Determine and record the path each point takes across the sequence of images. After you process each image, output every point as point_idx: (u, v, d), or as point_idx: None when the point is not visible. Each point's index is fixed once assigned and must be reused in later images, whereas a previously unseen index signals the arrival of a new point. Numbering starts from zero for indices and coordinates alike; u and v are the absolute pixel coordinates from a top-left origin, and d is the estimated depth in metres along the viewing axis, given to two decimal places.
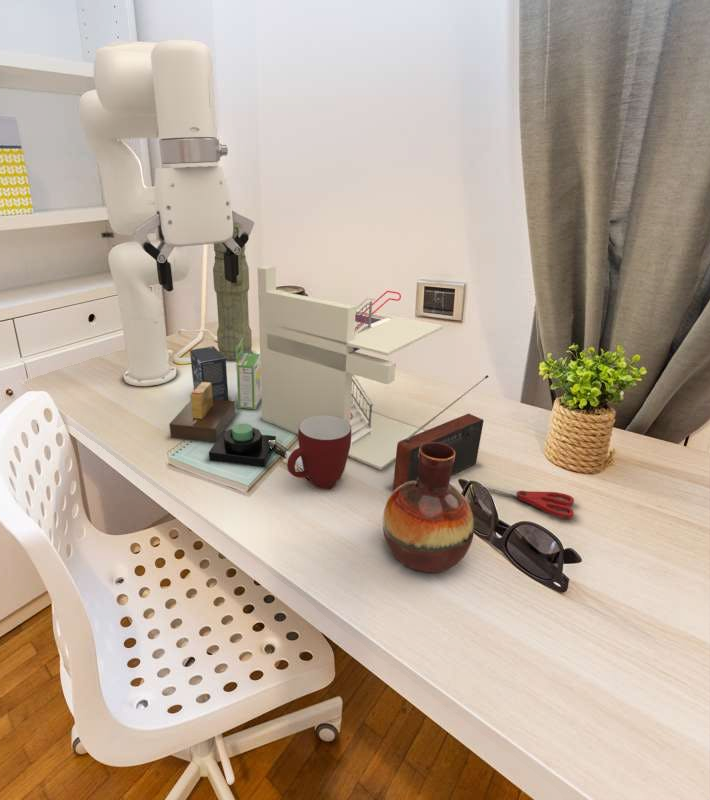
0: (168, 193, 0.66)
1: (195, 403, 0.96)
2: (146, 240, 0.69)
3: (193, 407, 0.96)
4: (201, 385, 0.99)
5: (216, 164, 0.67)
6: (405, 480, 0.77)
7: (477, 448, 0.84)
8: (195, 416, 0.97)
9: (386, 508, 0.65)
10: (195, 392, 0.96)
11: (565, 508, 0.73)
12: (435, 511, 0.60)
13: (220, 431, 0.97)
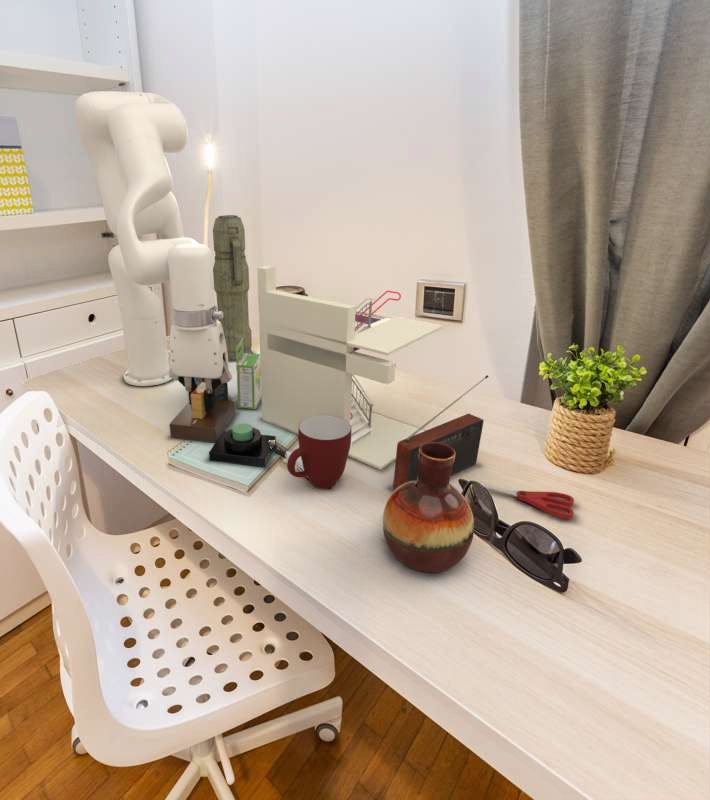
0: (172, 342, 0.93)
1: (196, 403, 0.96)
2: (177, 376, 0.97)
3: (193, 407, 0.96)
4: (201, 385, 0.99)
5: (204, 327, 0.89)
6: (405, 480, 0.77)
7: (477, 448, 0.84)
8: (195, 416, 0.97)
9: (386, 508, 0.65)
10: (195, 392, 0.96)
11: (565, 508, 0.73)
12: (435, 511, 0.60)
13: (220, 431, 0.97)
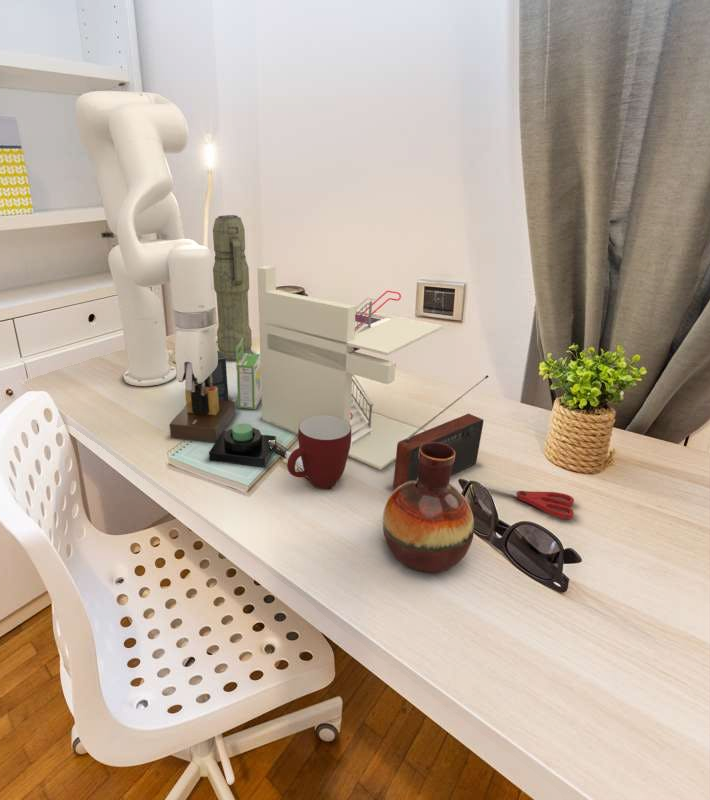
0: (200, 348, 0.90)
1: (216, 398, 0.98)
2: (195, 386, 0.93)
3: (215, 403, 0.98)
4: None
5: None
6: (405, 480, 0.77)
7: (477, 448, 0.84)
8: (217, 411, 0.99)
9: (386, 508, 0.65)
10: (213, 388, 0.97)
11: (565, 508, 0.73)
12: (435, 511, 0.60)
13: (220, 431, 0.97)
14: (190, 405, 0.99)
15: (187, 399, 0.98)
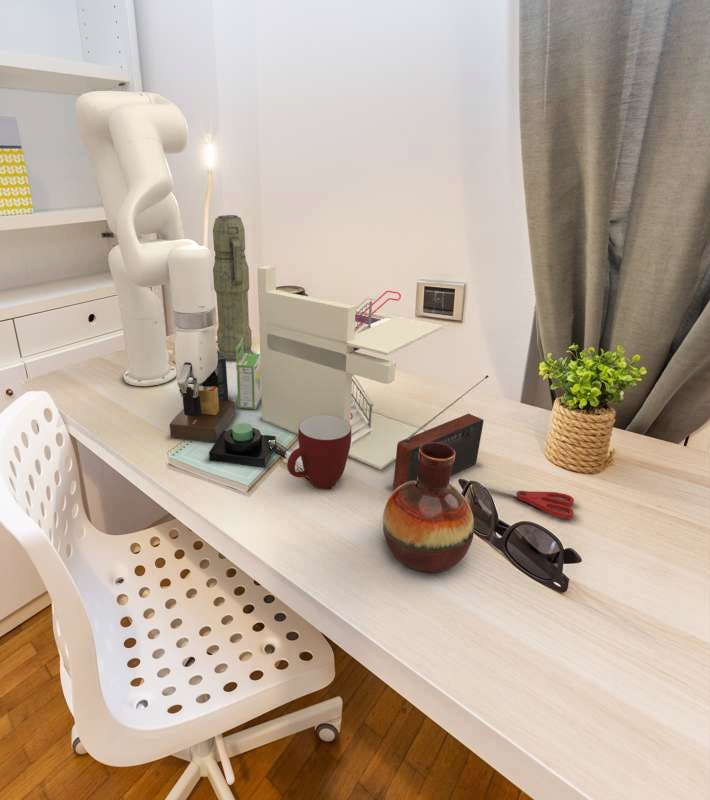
0: (200, 349, 0.90)
1: (216, 398, 0.98)
2: (187, 385, 0.90)
3: (215, 403, 0.98)
4: None
5: None
6: (405, 480, 0.77)
7: (477, 448, 0.84)
8: (217, 411, 0.99)
9: (386, 508, 0.65)
10: (213, 388, 0.97)
11: (565, 508, 0.73)
12: (435, 511, 0.60)
13: (220, 431, 0.97)
14: None
15: None
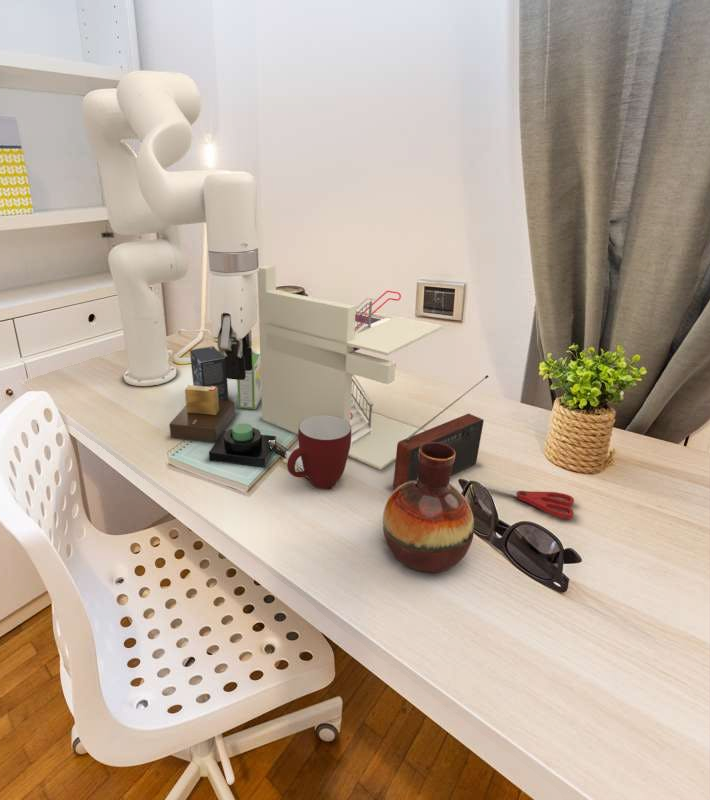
0: (240, 297, 0.75)
1: (216, 398, 0.98)
2: (231, 345, 0.78)
3: (215, 403, 0.98)
4: (194, 388, 0.98)
5: None
6: (405, 480, 0.77)
7: (477, 448, 0.84)
8: (217, 411, 0.99)
9: (386, 508, 0.65)
10: (213, 388, 0.97)
11: (565, 508, 0.73)
12: (435, 511, 0.60)
13: (220, 431, 0.97)
14: (190, 405, 0.99)
15: (187, 399, 0.98)
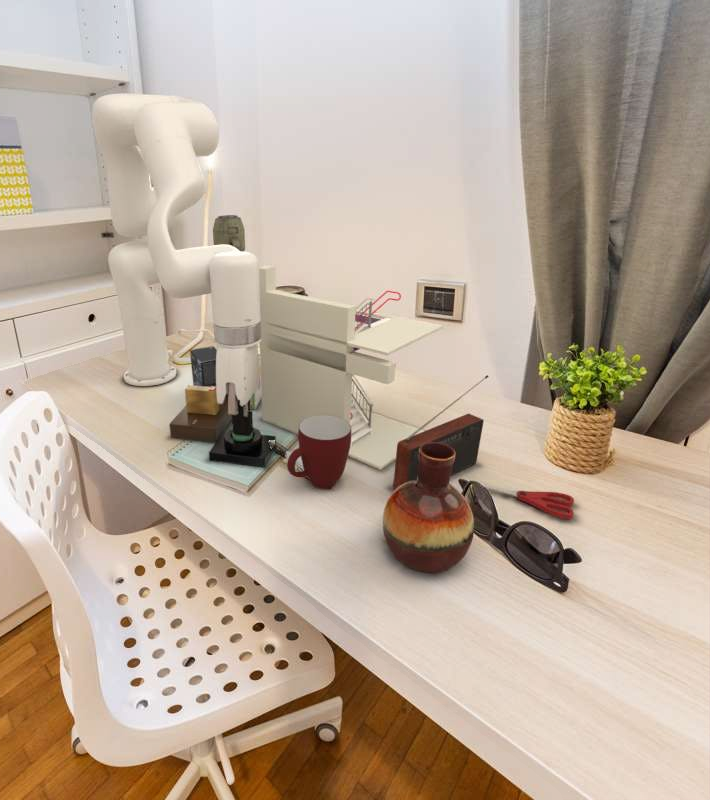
0: (244, 367, 0.80)
1: (216, 398, 0.98)
2: (238, 408, 0.84)
3: (215, 403, 0.98)
4: (194, 388, 0.98)
5: None
6: (405, 480, 0.77)
7: (477, 448, 0.84)
8: (217, 411, 0.99)
9: (386, 508, 0.65)
10: (213, 388, 0.97)
11: (565, 508, 0.73)
12: (435, 511, 0.60)
13: (220, 431, 0.97)
14: (190, 405, 0.99)
15: (187, 399, 0.98)
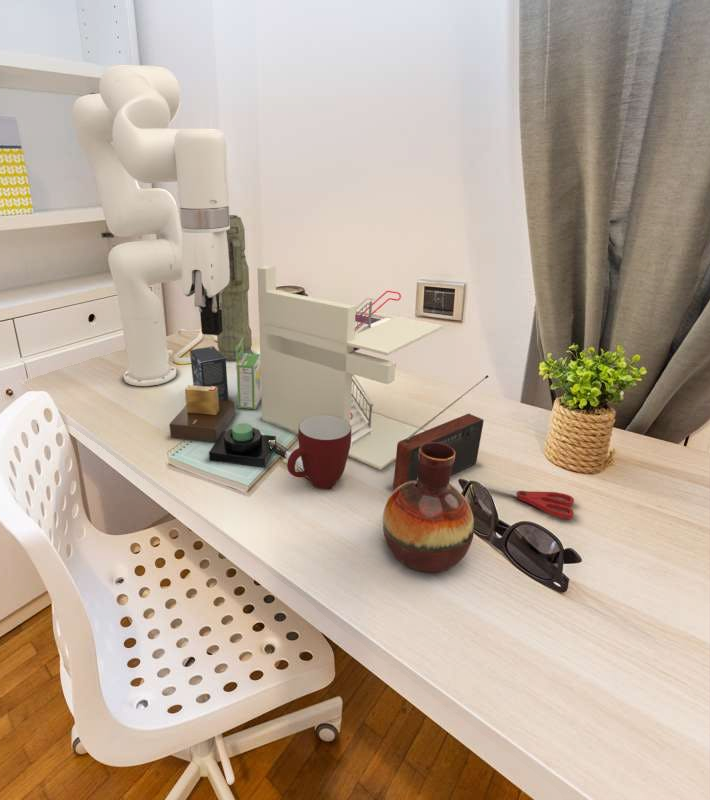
0: (211, 254, 0.77)
1: (216, 398, 0.98)
2: (205, 300, 0.81)
3: (215, 403, 0.98)
4: (194, 388, 0.98)
5: None
6: (405, 480, 0.77)
7: (477, 448, 0.84)
8: (217, 411, 0.99)
9: (386, 508, 0.65)
10: (213, 388, 0.97)
11: (565, 508, 0.73)
12: (435, 511, 0.60)
13: (220, 431, 0.97)
14: (190, 405, 0.99)
15: (187, 399, 0.98)
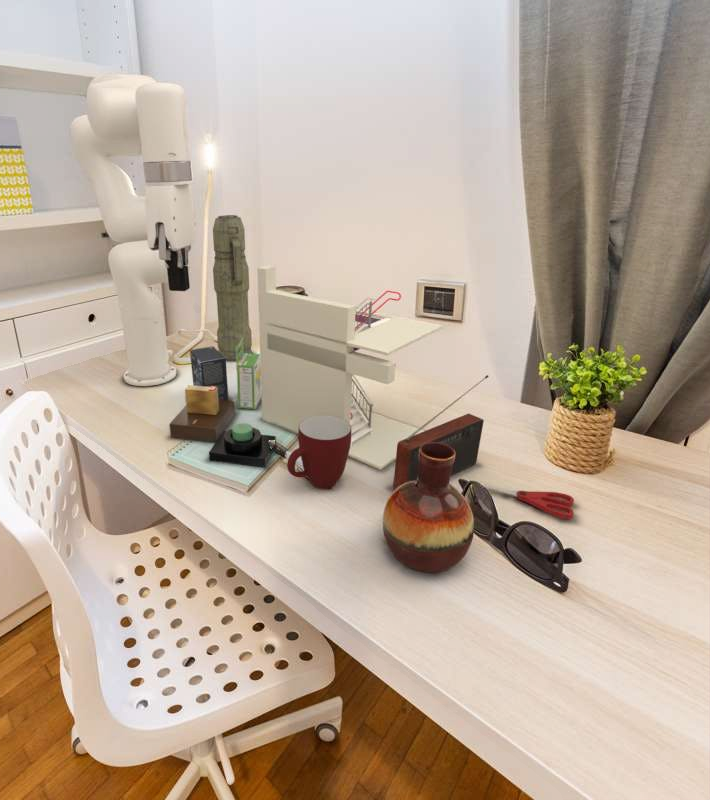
0: (173, 206, 0.79)
1: (216, 398, 0.98)
2: (170, 254, 0.83)
3: (215, 403, 0.98)
4: (194, 388, 0.98)
5: None
6: (405, 480, 0.77)
7: (477, 448, 0.84)
8: (217, 411, 0.99)
9: (386, 508, 0.65)
10: (213, 388, 0.97)
11: (565, 508, 0.73)
12: (435, 511, 0.60)
13: (220, 431, 0.97)
14: (190, 405, 0.99)
15: (187, 399, 0.98)
